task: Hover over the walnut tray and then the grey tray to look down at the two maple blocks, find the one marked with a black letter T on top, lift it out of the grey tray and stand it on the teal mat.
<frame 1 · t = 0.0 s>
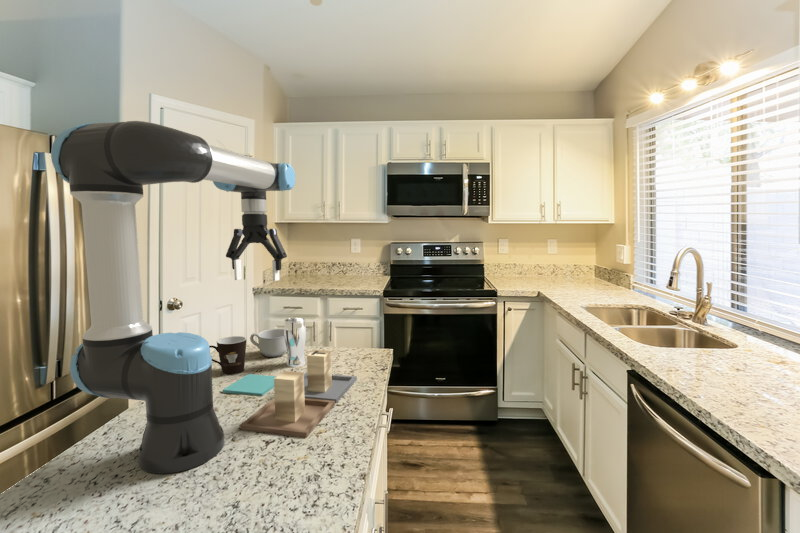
hand: (257, 280, 128), 28 cm above the countertop, tool pointing down, fingers open, 13 cm apart
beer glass: (296, 364, 131), on the countertop
plain block: (289, 396, 94), in the walnut tray
walnut tray: (290, 417, 95), on the countertop
grey tray: (320, 388, 111), on the countertop
teal mat: (255, 385, 113), on the countertop
letter block: (319, 370, 111), in the grey tray
teacup: (270, 354, 142), on the countertop
coffee mug: (228, 371, 126), on the countertop
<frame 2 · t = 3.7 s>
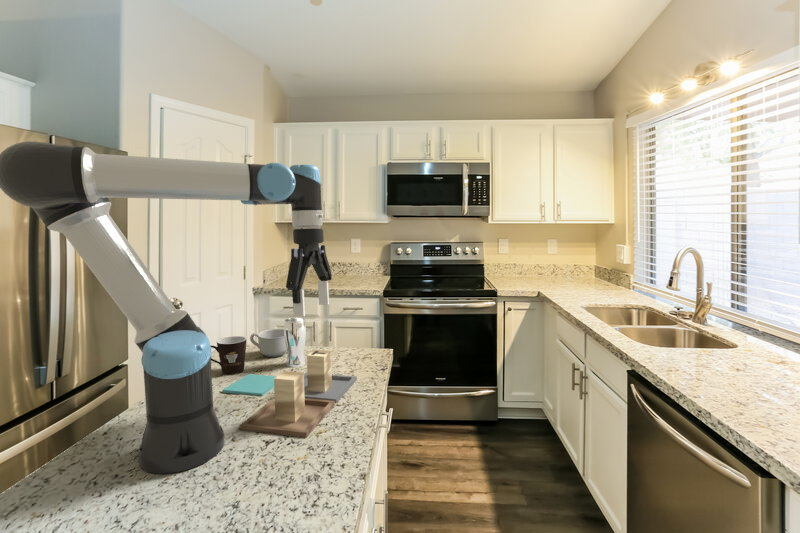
hand: (312, 310, 104), 23 cm above the countertop, tool pointing down, fingers open, 13 cm apart
nothing on the countertop moved.
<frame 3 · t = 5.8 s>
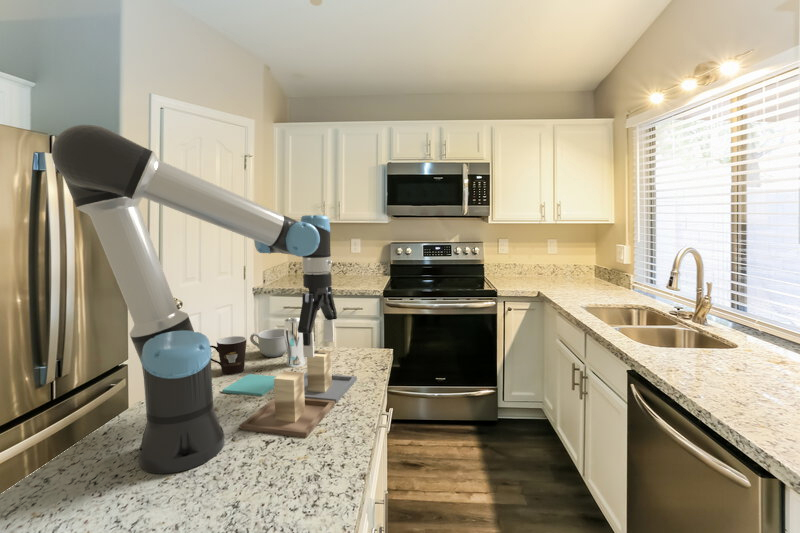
hand: (319, 349, 110), 11 cm above the countertop, tool pointing down, fingers open, 13 cm apart
nothing on the countertop moved.
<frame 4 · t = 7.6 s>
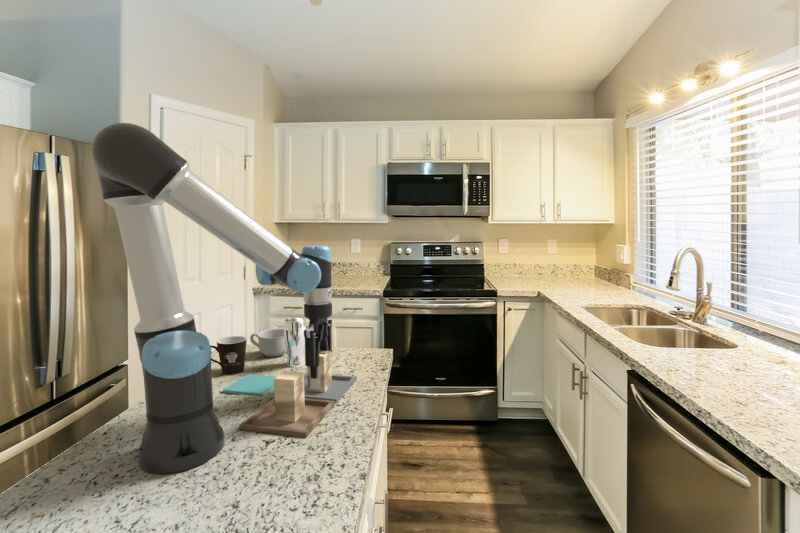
hand: (319, 384, 111), 1 cm above the countertop, tool pointing down, fingers closed on letter block, 5 cm apart
letter block: (319, 370, 111), in the grey tray, touching gripper
everything else where it was.
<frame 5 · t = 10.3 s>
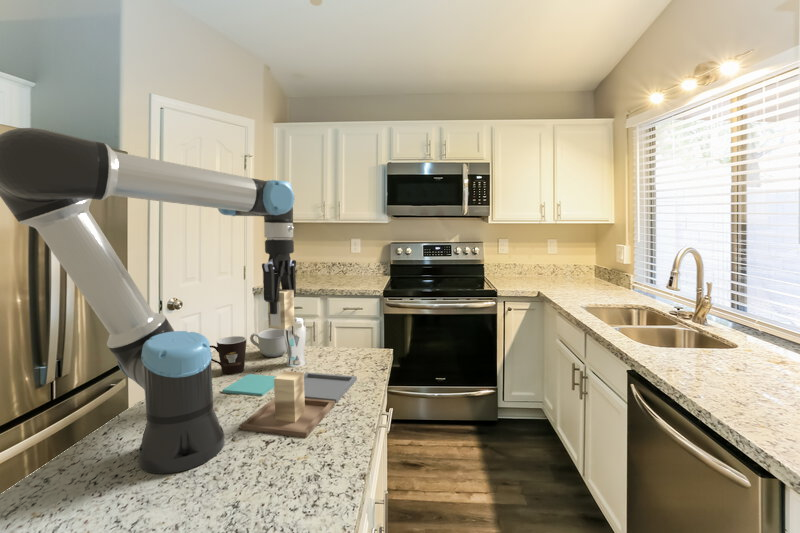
hand: (281, 322, 110), 19 cm above the countertop, tool pointing down, fingers closed on letter block, 5 cm apart
letter block: (281, 308, 110), point 22 cm above the countertop, touching gripper
everything else where it was.
when the fingers open (3 cm above the countertop, at t = 13.1 s): letter block drops 1 cm, resting on teal mat.
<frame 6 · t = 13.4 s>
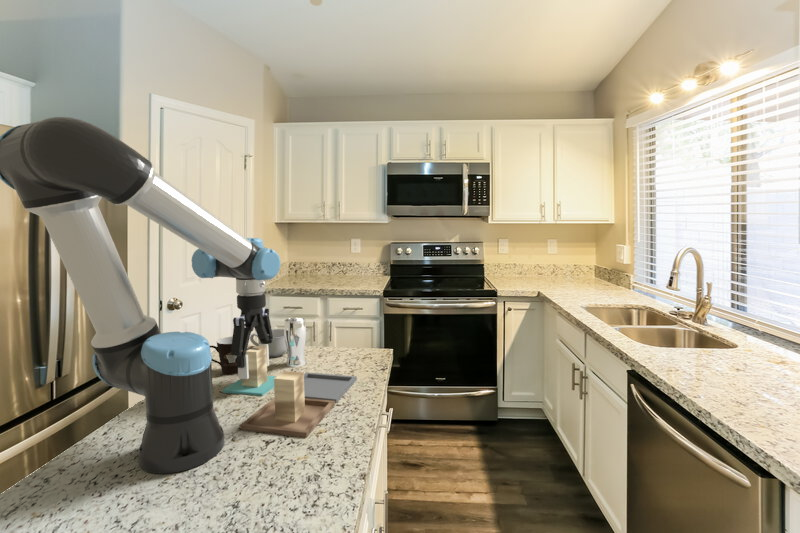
hand: (254, 371, 113), 4 cm above the countertop, tool pointing down, fingers open, 9 cm apart
letter block: (254, 366, 113), on the teal mat, point 6 cm above the countertop
everything else where it was.
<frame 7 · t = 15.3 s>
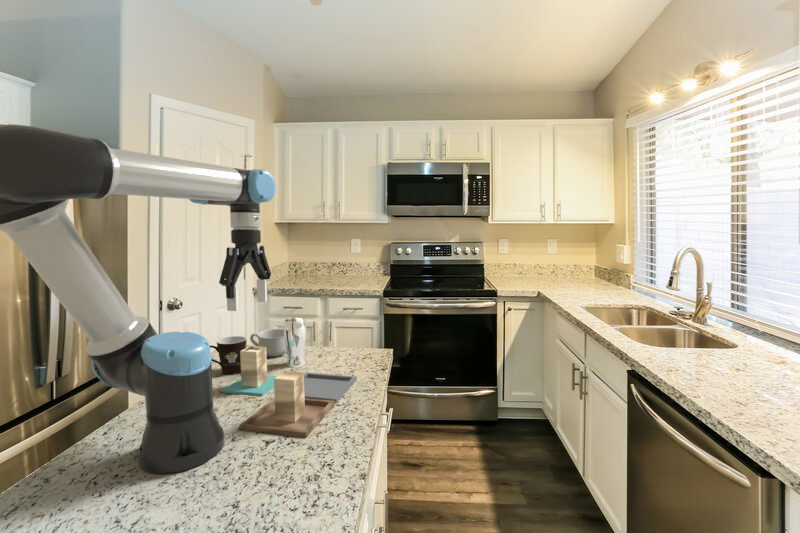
hand: (248, 306, 110), 23 cm above the countertop, tool pointing down, fingers open, 13 cm apart
nothing on the countertop moved.
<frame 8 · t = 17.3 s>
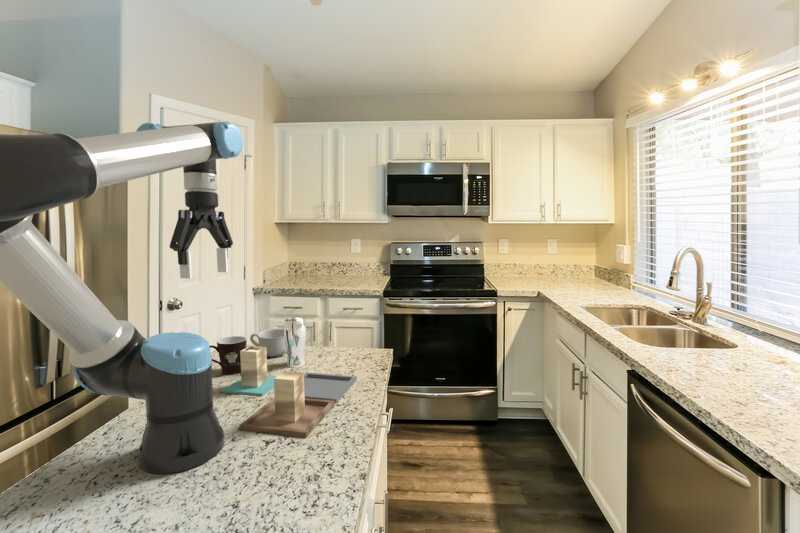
hand: (205, 275, 103), 33 cm above the countertop, tool pointing down, fingers open, 13 cm apart
nothing on the countertop moved.
at the end: letter block inside the target area on the teal mat (0.0 cm from its centre), point 5.8 cm above the teal mat's base; letter block tilted 0°; plain block moved 0.0 cm from its start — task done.
